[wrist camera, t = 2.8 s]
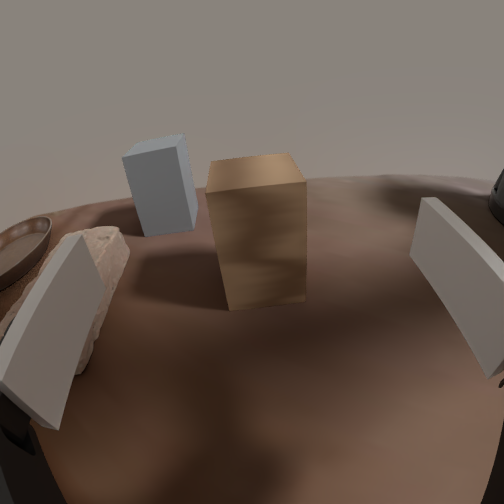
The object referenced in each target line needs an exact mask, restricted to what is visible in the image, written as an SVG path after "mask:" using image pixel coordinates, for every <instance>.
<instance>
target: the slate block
mask: <svg viewBox="0 0 504 504" xmlns="http://www.w3.org/2000/svg"><path fill="white" fill-rule="evenodd" d="M122 160H123V164H124V168H125V172H126V176H127V179H128V183H129V186H130V189H131V193H132V197H133V200H134V203H135V207H136V210H137V213H138V217H139V220H140V223H141V226H142V229H143V232H144V235H145V237H149V236H156V235H163V234H171V233H178V232H185V231H193V230H194V227H195V222H196V216H197V211H198V202H197V197H196V192H195V187H194V183H193V177H192V172H191V167H190V162H189V156H188V150H187V145H186V139H185V134H184V133H183V134H177V135H172V136H167V137H161V138H157V139H152V140H147V141H143V142H138V143H136V144H135V145H134V146H133V147H132V148H131V149H130V150H129V151H128V152H127V153H126V154H125V155H124V156H123V157H122Z"/></svg>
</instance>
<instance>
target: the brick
mask: <svg viewBox="0 0 504 504" xmlns="http://www.w3.org/2000/svg"><path fill="white" fill-rule="evenodd" d="M79 234H82V235H83V237H84V240H85V242H86V245H87V247H88V249H89V252H90V254H91V256H92V259H93V261H94V263H95V265H96V268H97V270H98V272H99V274H100V277H101V279H102V281H103V283H104V285H105V287H106V290H105V292H104V295H103V297H102V299H101V302H100V304H99V307H98V309H97V312H96V314H95V317H94V320H93V322H92V325H91V327H90V330H89V333H88V336H87V338H86V341H85V344H84V347H83V350H82V352H81V355H80V358H79V361H78V364H77V368H76V371H75V374H74V375H77V374H81V373H82V372H83V370H84V369H85V366H86V365H87V364H88V361H89V358H90V356H91V354H92V351H93V342H94V341H95V340H96V339H97V338H98V336H99V332H100V328H101V326H102V323H103V321H104V318H105V316H106V314H107V311H108V307H109V305H110V302H111V299H112V296H113V294H114V292H115V289H116V287H117V284H118V281H119V279H120V277H121V275H122V273H123V271H124V268H125V266H126V263H127V260H128V258H129V255H130V250H129V248H128V246H127V245H126V244H125V240H124V238H123V235H122V233H120V232H119V228H118V227H115V226H101V227H95V228H93V229H85V230H83V231H80V230H79V231H77V232H74V233H68V234H66V235H65V236H64V237H63V238H62V239H61V240H60V242H59V244H58V245H57V246H56V247H55V248H54V249H53V250H52V251H51V252H50V253H49V255H48V258H47V259H46V260H45V261H44V263H43V265H42V267H41V268H40V270H39V273H38V276H37V277H36V278H34V279H33V281H32V282H30V283H29V284H28V285H27V286H26V288H25V289H24V291H23V295H22V296H21V297H20V298H19V300H18V301H16V303H15V304H13V305H12V307H11V309H10V311H8V312H7V314H6V316H5V317H4V319H3V320H2V321H1V323H0V340H1V338H2V336H4V332H5V330H6V329H7V327H8V325H9V323H10V322H11V320H12V319H13V318H14V317H15V316H16V315H17V313H18V311H19V310H20V308H21V306H22V304H23V303H24V301H25V299H26V298H27V296H28V294H29V293H30V291H31V289H32V288H33V286H34V285H35V283H36V281H37V280H38V278H39V277H40V275H41V274H42V272H43V271H44V269H45V268H46V266H47V265H48V263H49V262H50V260H51V259H52V257H53V256H54V254H55V253H56V251H57V250H58V249H59V247H60V246H61V244H62V243H63V242H64V240H65V239H66V238H67V237H68V236H73V235H79Z"/></svg>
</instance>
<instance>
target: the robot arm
mask: <svg viewBox="0 0 504 504" xmlns="http://www.w3.org/2000/svg"><path fill="white" fill-rule="evenodd" d="M489 207H490V209H491V211H492V213H493V214H494V215H495V217H496V218H497V219H498V220H499V221H500V222H501V223H502V224H504V169H503V171H502V172H501V174H500V176H499V178H498V180H497V181H496V183H495V185H494V186H493V188H492V191H491V195H490V199H489ZM409 256H410V257H411V258H412V260H413V261H414V262H415V264H416V265H417V266H418V268H419V269H420V271H421V272H422V273H423V275H424V276H425V278H426V279H427V280H428V282H429V283H430V285H431V286H432V288H433V289H434V291H435V292H436V294H437V295H438V297H439V298H440V300H441V301H442V303H443V304H444V306H445V307H446V309H447V310H448V312H449V313H450V315H451V317H452V318H453V320H454V321H455V323H456V325H457V326H458V328H459V329H460V331H461V333H462V334H463V336H464V338H465V340H466V341H467V343H468V345H469V346H470V348H471V350H472V352H473V353H474V355H475V357H476V359H477V361H478V363H479V364H480V366H481V368H482V370H483V372H484V374H485V376H486V378H487V379H489V378H491V377H493V376H495V375H497V374H499V373H501V372H502V371H503V370H504V261H502V260H501V259H500V258H499V257H498V256H497V254H496V253H495V252H494V251H493V250H492V249H491V248H490V247H489V246H488V245H487V244H486V243H485V242H484V241H483V240H482V239H481V238H480V237H479V236H478V235H477V234H476V233H475V232H474V231H473V230H472V229H471V228H470V227H469V226H468V225H467V224H466V223H464V222H463V221H462V220H461V219H460V218H459V217H458V216H457V215H456V214H455V213H454V212H452V211H451V210H450V209H449V208H448V207H447V206H446V205H445V204H443V203H442V202H441V201H440V200H439V199H438V198H436V197H426V198H421V203H420V208H419V213H418V218H417V223H416V228H415V232H414V237H413V241H412V245H411V249H410V253H409ZM105 290H106V287H105V285H104V283H103V281H102V279H101V277H100V274H99V272H98V270H97V268H96V265H95V263H94V261H93V259H92V256H91V254H90V252H89V249H88V247H87V245H86V242H85V240H84V237H83V235H82V234H79V235H73V236H68V237H67V238H66V239H65V240H64V242H63V243H62V244H61V246H60V247H59V249H58V250H57V251H56V253H55V254H54V256H53V257H52V259H51V260H50V262H49V263H48V265H47V266H46V268H45V269H44V271H43V272H42V274H41V275H40V277H39V278H38V280H37V281H36V283H35V285H34V286H33V288H32V289H31V291H30V293H29V294H28V296H27V298H26V299H25V301H24V303H23V304H22V306H21V308H20V310H19V311H18V313H17V315H16V316H15V317H14V318H13V319H12V320H11V322H10V323H9V325H8V327H7V329H6V330H5V332H4V336H2V338H1V340H0V504H67V503H66V501H65V499H64V497H63V495H62V493H61V491H60V489H59V487H58V485H57V483H56V481H55V479H54V477H53V475H52V472H51V470H50V468H49V466H48V463H47V461H46V459H45V456H44V454H43V451H42V449H41V446H40V444H39V441H38V438H37V435H36V433H35V430H34V429H33V427H32V426H31V425H30V424H29V422H30V419H31V418H32V419H33V420H34V421H36V422H37V423H38V424H39V425H41V426H42V427H46V428H50V429H54V430H59V428H60V424H61V420H62V416H63V412H64V408H65V404H66V401H67V397H68V394H69V390H70V387H71V383H72V380H73V377H74V374H75V371H76V368H77V364H78V361H79V358H80V355H81V352H82V350H83V347H84V344H85V341H86V338H87V336H88V333H89V330H90V327H91V325H92V322H93V320H94V317H95V314H96V312H97V309H98V307H99V304H100V302H101V299H102V297H103V295H104V292H105ZM503 385H504V378H503V380H502V381H501V382H500V384H499V388H501V387H502V386H503ZM481 504H504V421H503V427H502V432H501V437H500V441H499V446H498V450H497V454H496V458H495V461H494V465H493V468H492V472H491V475H490V478H489V481H488V485H487V488H486V490H485V493H484V496H483V499H482V501H481Z"/></svg>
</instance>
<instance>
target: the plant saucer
mask: <svg viewBox="0 0 504 504" xmlns="http://www.w3.org/2000/svg"><path fill="white" fill-rule="evenodd" d="M51 228H52V221H51V219H50V218H49V217H46V216H39V217H33V218H30V219H27V220H24V221H22V222H19V223H17V224H15V225H13V226H11V227H9V228H8V229H6V230H5V231H3V232H1V233H0V290H2V289H4V288H6V287H8V286H9V285H11V284H13V283H14V282H16V281H17V280H18V279H20V278H21V277H22V276H24V275H25V274H26V273H27V272H28V271H29V270H31V269H32V268H33V267H34V265H35V264H36V263H37V262H38V261H39V260H40V259H41V257H42V256H43V254H44V253H45V251H46V249H47V246H48V243H49V239H50V234H51Z"/></svg>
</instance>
